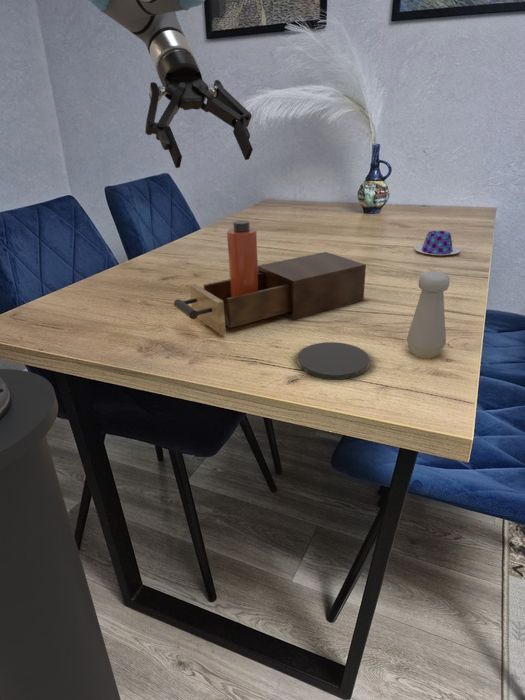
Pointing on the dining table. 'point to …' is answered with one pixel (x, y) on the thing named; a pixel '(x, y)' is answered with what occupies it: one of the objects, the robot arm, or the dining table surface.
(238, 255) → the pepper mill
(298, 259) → the cabinet
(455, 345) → the dining table surface
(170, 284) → the dining table surface
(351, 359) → the coaster
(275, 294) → the drawer
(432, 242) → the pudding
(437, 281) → the salt shaker
